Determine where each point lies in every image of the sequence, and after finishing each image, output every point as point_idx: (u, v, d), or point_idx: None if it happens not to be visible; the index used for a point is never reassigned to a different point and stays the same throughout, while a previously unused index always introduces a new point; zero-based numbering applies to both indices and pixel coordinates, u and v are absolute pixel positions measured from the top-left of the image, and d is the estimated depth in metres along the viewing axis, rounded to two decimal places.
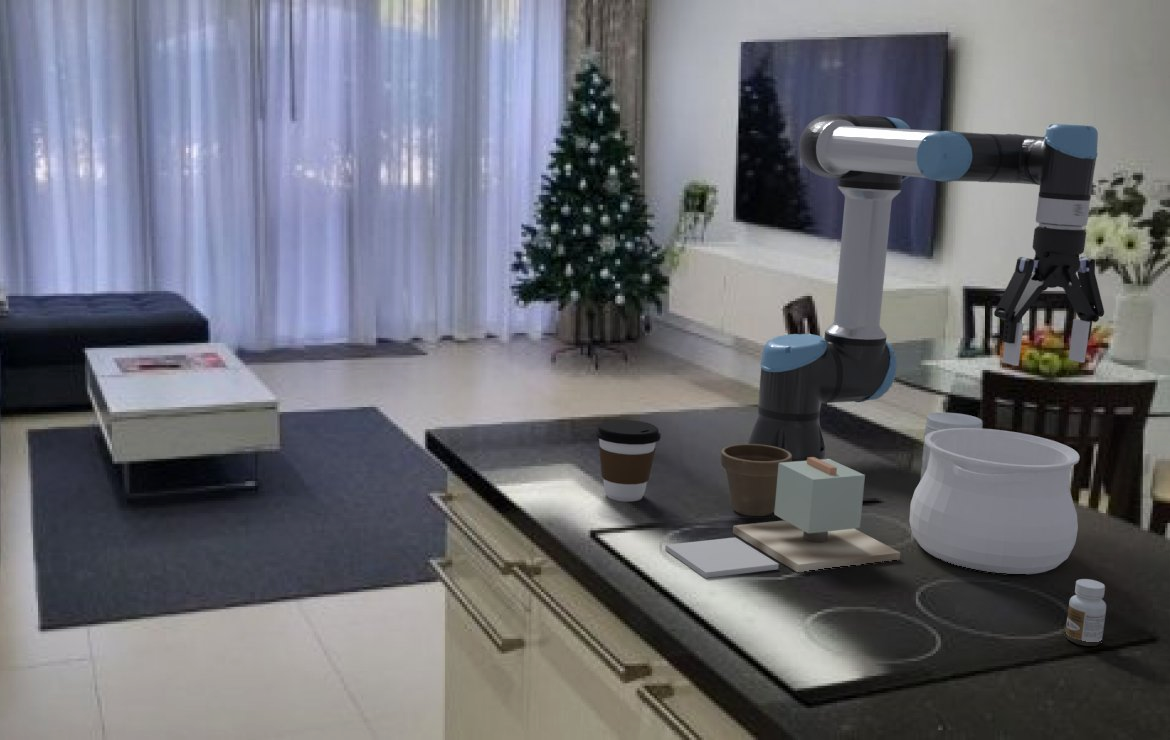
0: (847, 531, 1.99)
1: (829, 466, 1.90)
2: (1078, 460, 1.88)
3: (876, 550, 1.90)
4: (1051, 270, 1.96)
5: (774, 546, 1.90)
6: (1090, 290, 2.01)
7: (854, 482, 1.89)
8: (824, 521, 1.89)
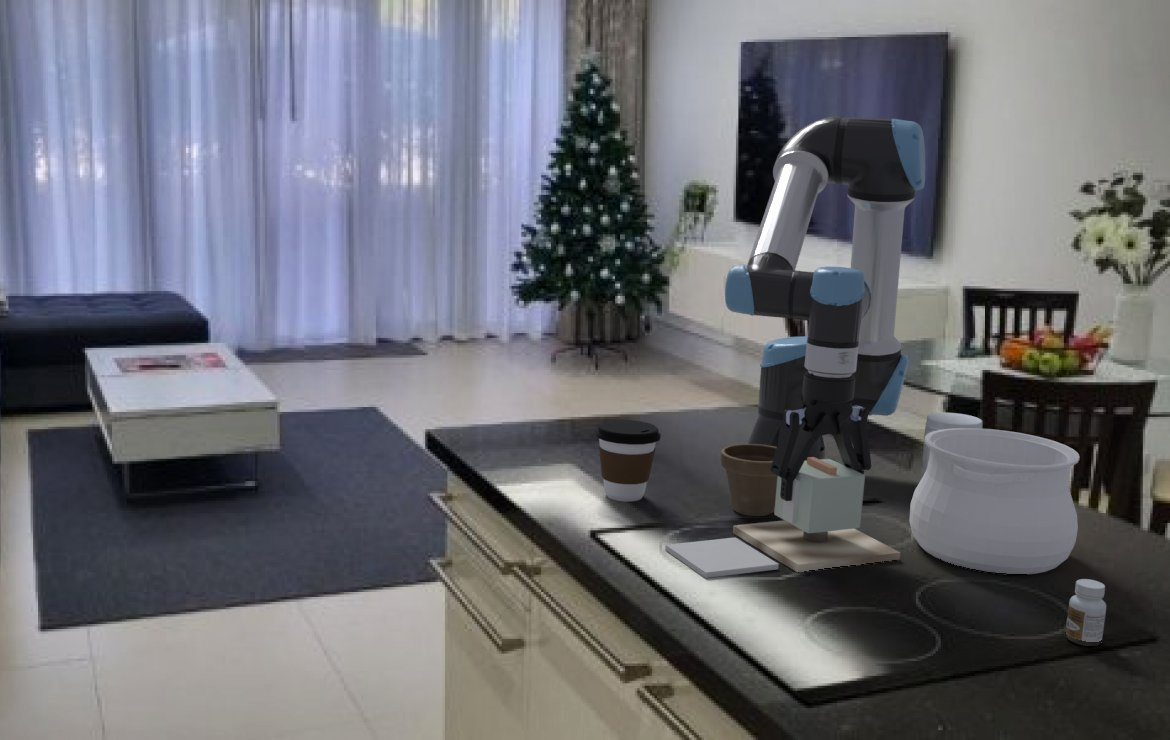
0: (847, 531, 1.99)
1: (829, 466, 1.90)
2: (1078, 460, 1.88)
3: (876, 550, 1.90)
4: (819, 419, 1.88)
5: (774, 546, 1.90)
6: (860, 440, 1.93)
7: (854, 482, 1.89)
8: (824, 521, 1.89)
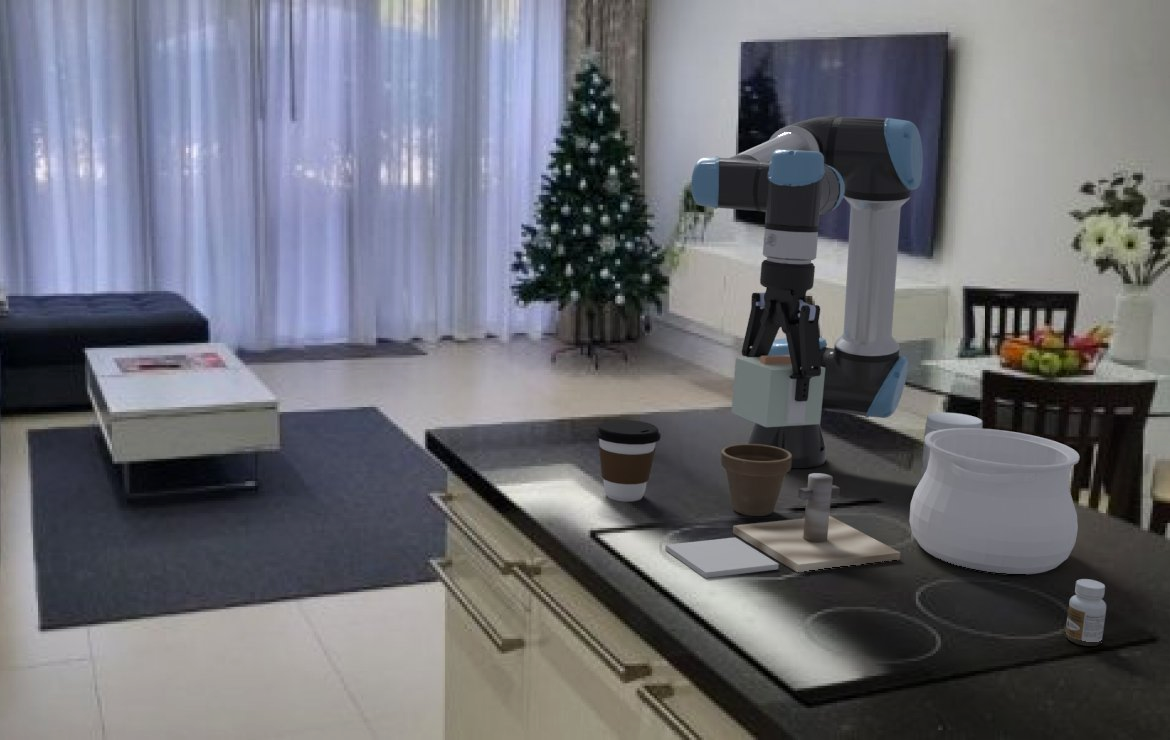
0: (847, 531, 1.99)
1: (767, 356, 1.83)
2: (1078, 460, 1.88)
3: (876, 550, 1.90)
4: None
5: (774, 546, 1.90)
6: None
7: (763, 374, 1.80)
8: (742, 406, 1.85)
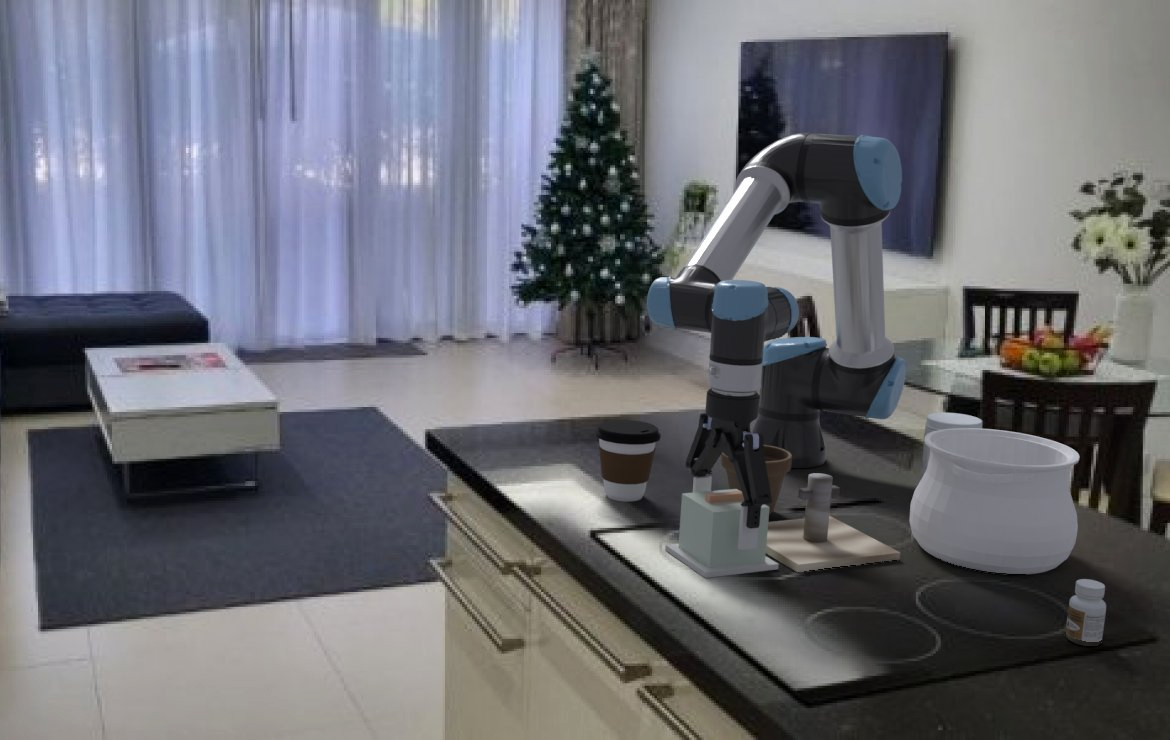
0: (847, 531, 1.99)
1: (712, 494, 1.84)
2: (1078, 460, 1.88)
3: (876, 550, 1.90)
4: None
5: (774, 546, 1.90)
6: None
7: (706, 515, 1.81)
8: (687, 542, 1.86)
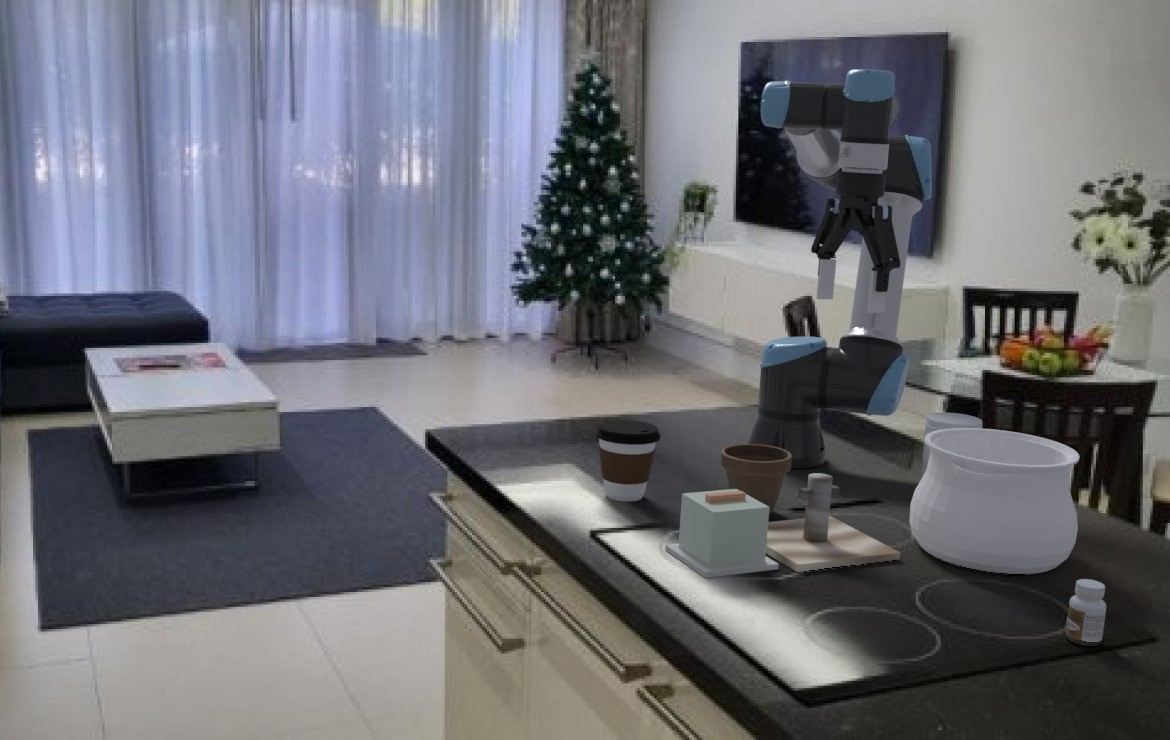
0: (847, 531, 1.99)
1: (712, 494, 1.84)
2: (1078, 460, 1.88)
3: (876, 550, 1.90)
4: None
5: (774, 546, 1.90)
6: None
7: (706, 515, 1.81)
8: (687, 542, 1.86)
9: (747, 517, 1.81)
